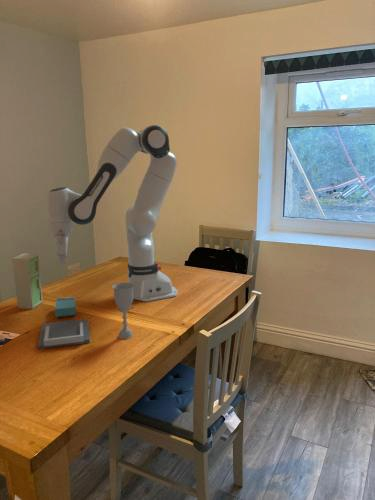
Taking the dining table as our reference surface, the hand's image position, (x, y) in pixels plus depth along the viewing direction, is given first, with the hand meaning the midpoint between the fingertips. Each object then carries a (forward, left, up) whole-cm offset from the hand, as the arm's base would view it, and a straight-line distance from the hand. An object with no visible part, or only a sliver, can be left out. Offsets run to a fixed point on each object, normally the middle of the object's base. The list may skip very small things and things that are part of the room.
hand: (63, 261), depth 160 cm
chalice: (-20, +39, -18) cm, 47 cm away
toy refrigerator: (+14, +1, -18) cm, 22 cm away
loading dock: (0, +31, -19) cm, 37 cm away
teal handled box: (0, +14, -18) cm, 22 cm away
